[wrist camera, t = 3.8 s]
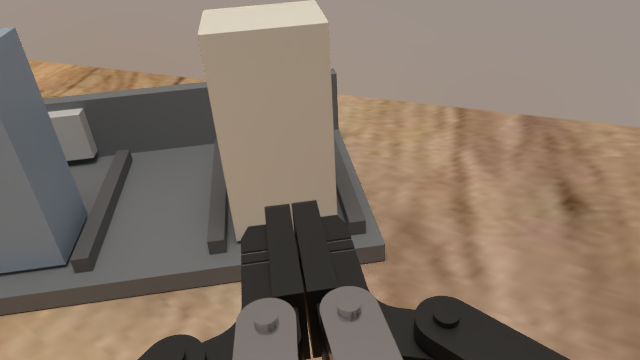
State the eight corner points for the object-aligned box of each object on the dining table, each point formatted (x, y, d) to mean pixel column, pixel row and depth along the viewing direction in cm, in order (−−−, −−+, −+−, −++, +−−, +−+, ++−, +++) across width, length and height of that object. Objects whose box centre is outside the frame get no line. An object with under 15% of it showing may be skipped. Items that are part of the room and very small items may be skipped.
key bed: (335, 132, 35) (332, 66, 33) (384, 260, 24) (386, 173, 21) (19, 169, 33) (-12, 101, 31) (-99, 329, 22) (-165, 242, 19)
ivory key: (325, 184, 27) (314, 0, 22) (337, 227, 24) (328, 22, 19) (236, 195, 27) (203, 10, 22) (236, 241, 24) (197, 35, 18)
